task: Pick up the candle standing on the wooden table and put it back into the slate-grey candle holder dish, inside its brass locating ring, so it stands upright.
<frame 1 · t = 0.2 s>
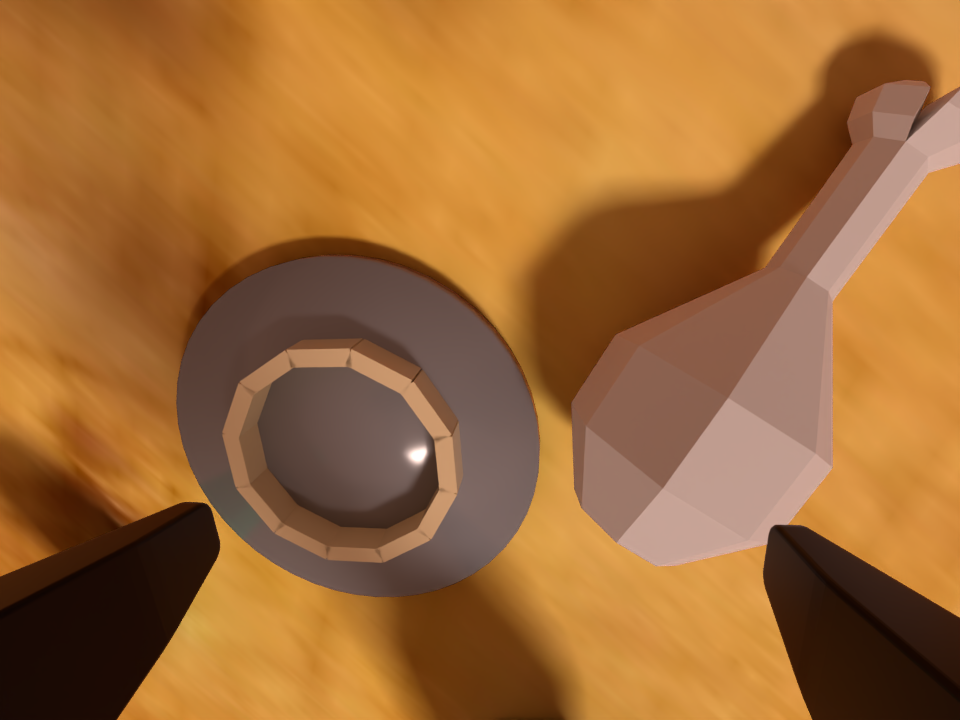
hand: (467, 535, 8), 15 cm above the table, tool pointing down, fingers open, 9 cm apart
chicken leg: (734, 305, 20), on the table
candle holder: (358, 437, 25), on the table
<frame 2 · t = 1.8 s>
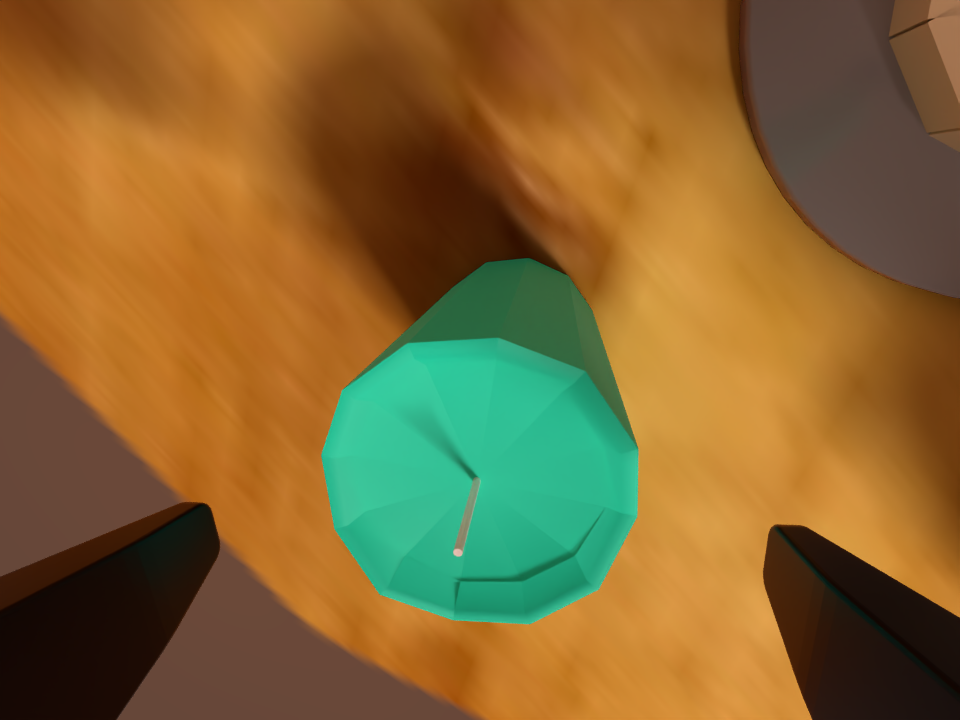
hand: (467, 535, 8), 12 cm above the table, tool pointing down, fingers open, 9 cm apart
candle: (515, 335, 19), on the table
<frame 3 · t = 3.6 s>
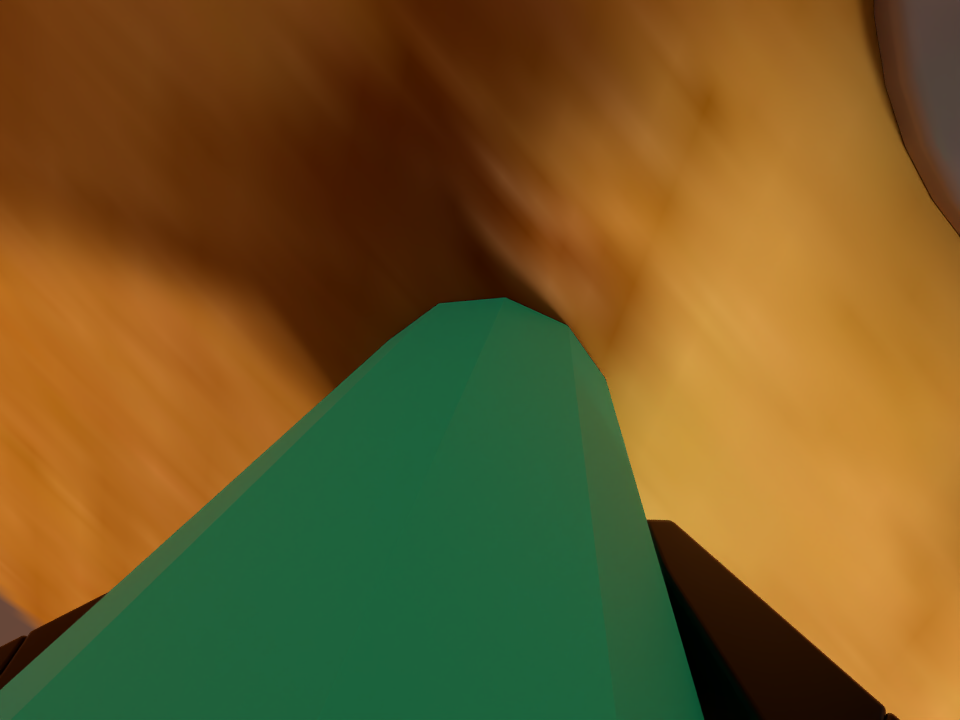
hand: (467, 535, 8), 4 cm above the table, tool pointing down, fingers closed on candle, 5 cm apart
candle: (487, 412, 12), on the table, touching gripper
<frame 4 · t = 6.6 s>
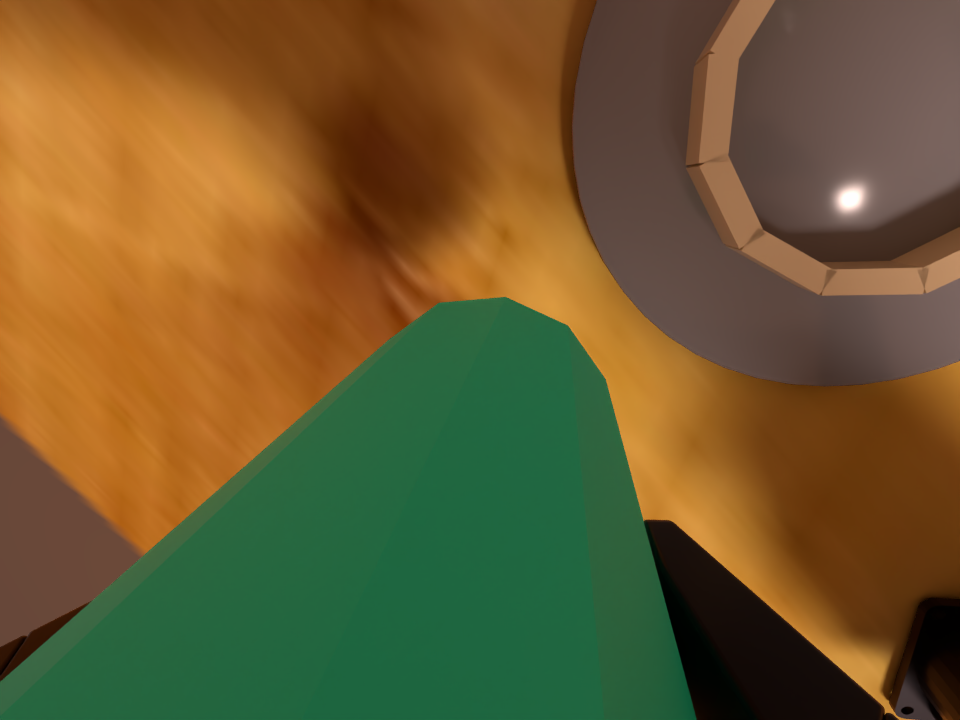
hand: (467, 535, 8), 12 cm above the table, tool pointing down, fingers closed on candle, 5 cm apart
candle holder: (860, 110, 16), on the table
candle: (487, 412, 12), point 8 cm above the table, touching gripper
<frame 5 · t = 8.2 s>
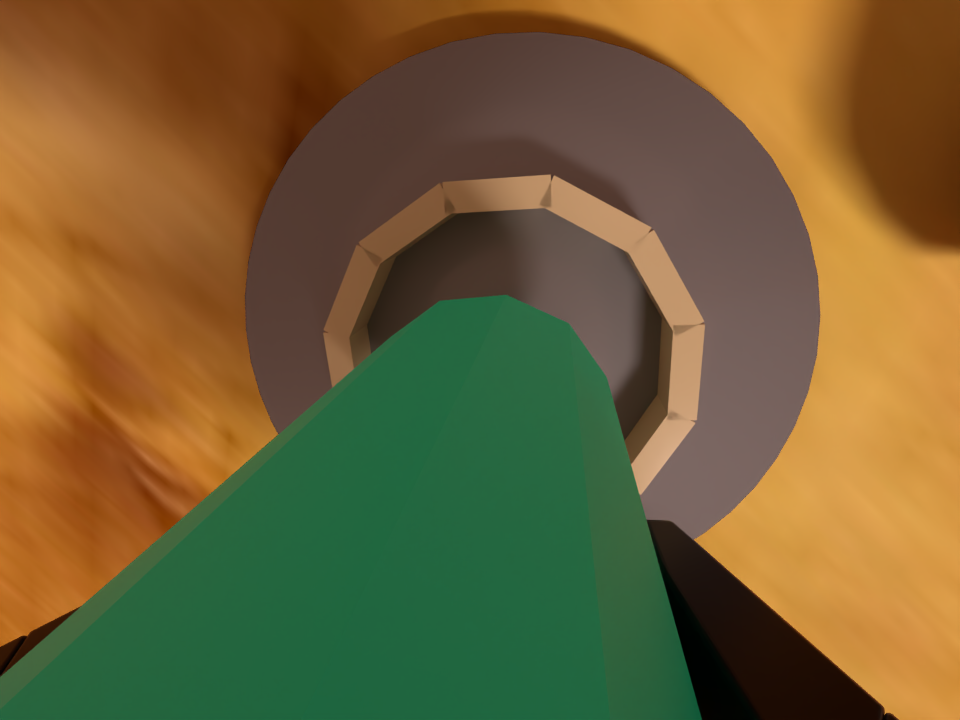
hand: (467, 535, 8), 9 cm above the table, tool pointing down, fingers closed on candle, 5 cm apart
candle holder: (511, 349, 17), on the table
candle: (487, 410, 12), point 5 cm above the table, touching gripper
when the fingers open (7 cm above the table, at t = 9.6 s): candle drops 1 cm, resting on candle holder.
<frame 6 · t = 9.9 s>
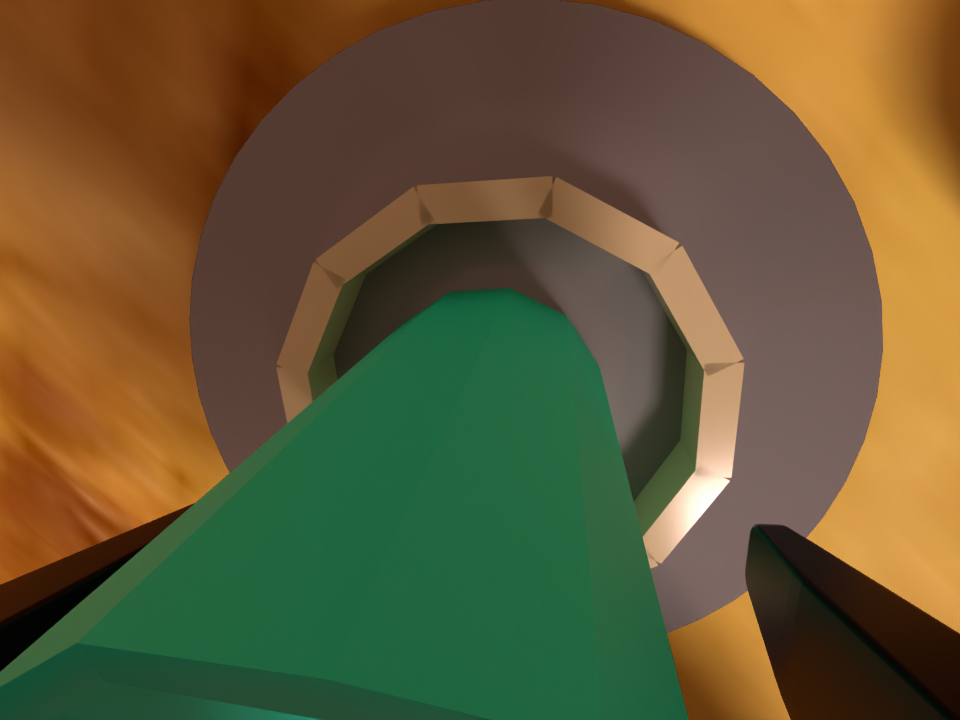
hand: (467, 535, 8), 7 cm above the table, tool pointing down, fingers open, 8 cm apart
candle holder: (506, 382, 14), on the table
candle: (489, 394, 13), point 1 cm above the table, touching candle holder
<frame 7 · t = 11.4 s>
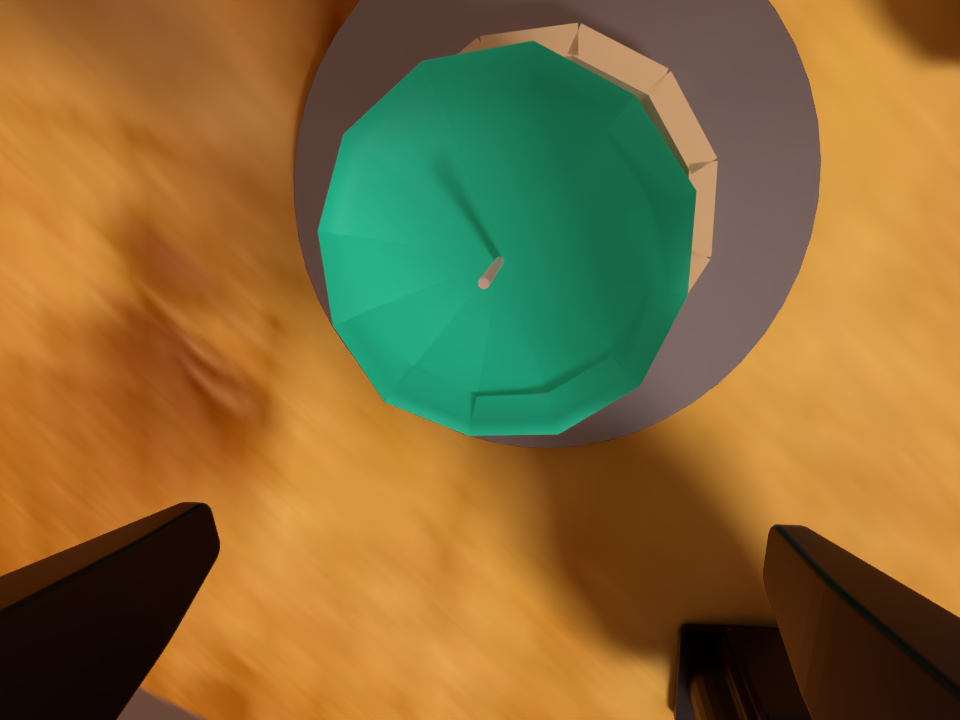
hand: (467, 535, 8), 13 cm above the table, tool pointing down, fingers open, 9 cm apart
candle holder: (538, 218, 18), on the table
candle: (527, 221, 18), point 1 cm above the table, touching candle holder
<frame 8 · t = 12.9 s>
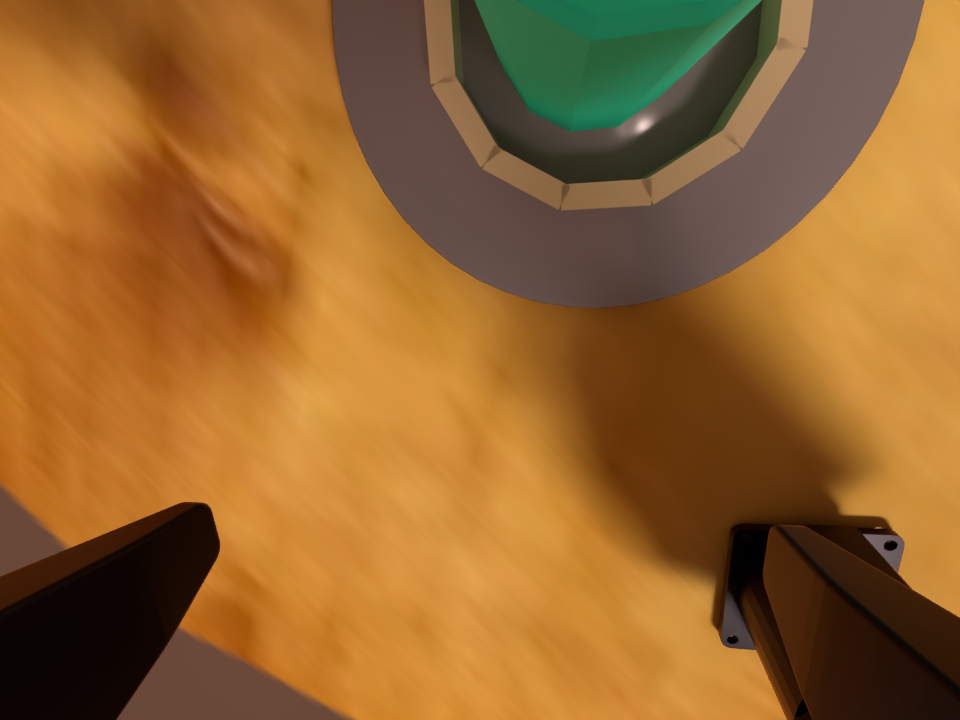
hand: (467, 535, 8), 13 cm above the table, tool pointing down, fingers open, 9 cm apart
candle holder: (601, 37, 17), on the table
candle: (592, 31, 16), point 1 cm above the table, touching candle holder
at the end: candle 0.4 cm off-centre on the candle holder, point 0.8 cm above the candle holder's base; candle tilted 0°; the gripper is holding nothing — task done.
